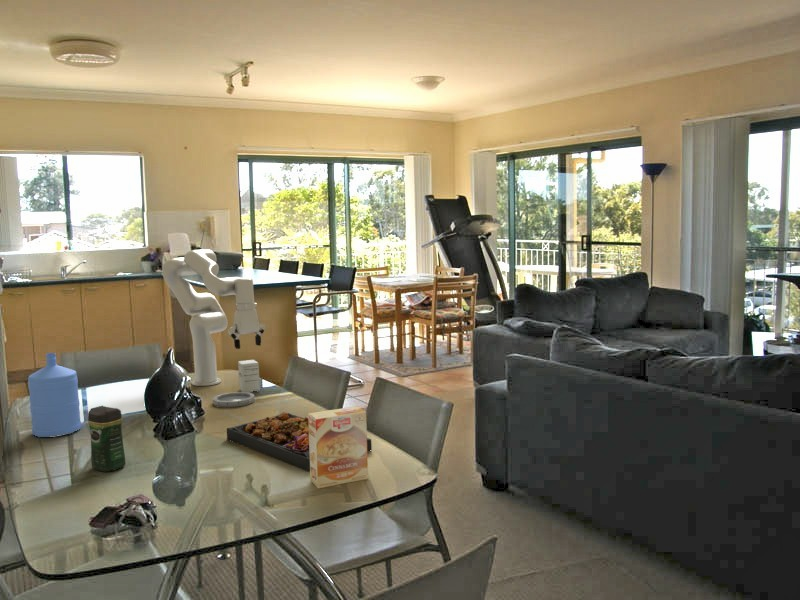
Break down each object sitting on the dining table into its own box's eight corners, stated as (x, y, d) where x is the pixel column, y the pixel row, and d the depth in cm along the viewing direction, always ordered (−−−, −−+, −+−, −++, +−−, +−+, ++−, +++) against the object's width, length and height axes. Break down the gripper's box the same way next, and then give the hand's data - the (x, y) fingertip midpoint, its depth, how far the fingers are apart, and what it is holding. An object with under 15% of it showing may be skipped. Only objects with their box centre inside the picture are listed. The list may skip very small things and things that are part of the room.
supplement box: (239, 389, 305) (237, 361, 304) (256, 387, 308) (254, 359, 307) (242, 393, 299) (241, 364, 297) (260, 391, 302) (258, 362, 300)
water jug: (89, 430, 251) (82, 352, 247) (42, 441, 239) (35, 360, 236) (70, 422, 261) (64, 348, 258) (25, 432, 250) (18, 355, 247)
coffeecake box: (318, 489, 191) (315, 419, 189) (309, 480, 198) (306, 412, 195) (369, 479, 198) (367, 411, 195) (359, 471, 204) (357, 405, 202)
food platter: (371, 452, 221) (370, 420, 220) (308, 473, 204) (306, 439, 203) (288, 424, 254) (286, 396, 252) (227, 441, 237) (225, 411, 236)
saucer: (206, 402, 286) (206, 397, 285) (242, 395, 296) (242, 389, 296) (225, 409, 274) (224, 404, 273) (261, 402, 284) (261, 396, 284)
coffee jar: (130, 466, 213) (126, 406, 211) (107, 474, 207) (102, 412, 204) (110, 460, 218) (106, 402, 216) (87, 468, 212) (82, 408, 210)
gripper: (259, 304, 308) (261, 343, 309) (222, 308, 296) (225, 348, 298) (268, 305, 302) (270, 344, 304) (230, 309, 291) (233, 350, 293)
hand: (248, 346), depth 301 cm, fingers open, 9 cm apart
